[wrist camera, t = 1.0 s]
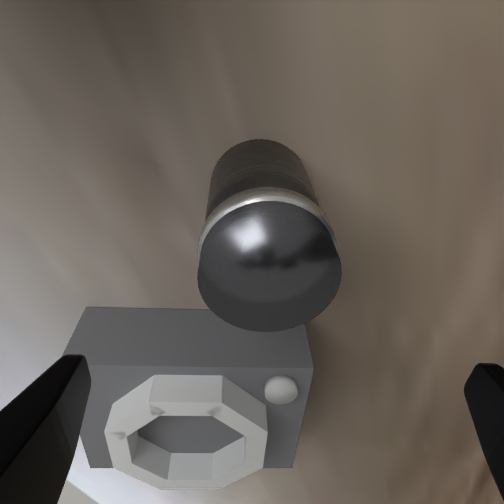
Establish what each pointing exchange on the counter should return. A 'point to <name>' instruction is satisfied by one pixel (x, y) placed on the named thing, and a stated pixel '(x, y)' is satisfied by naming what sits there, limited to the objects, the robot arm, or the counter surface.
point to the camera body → (190, 395)
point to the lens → (265, 241)
